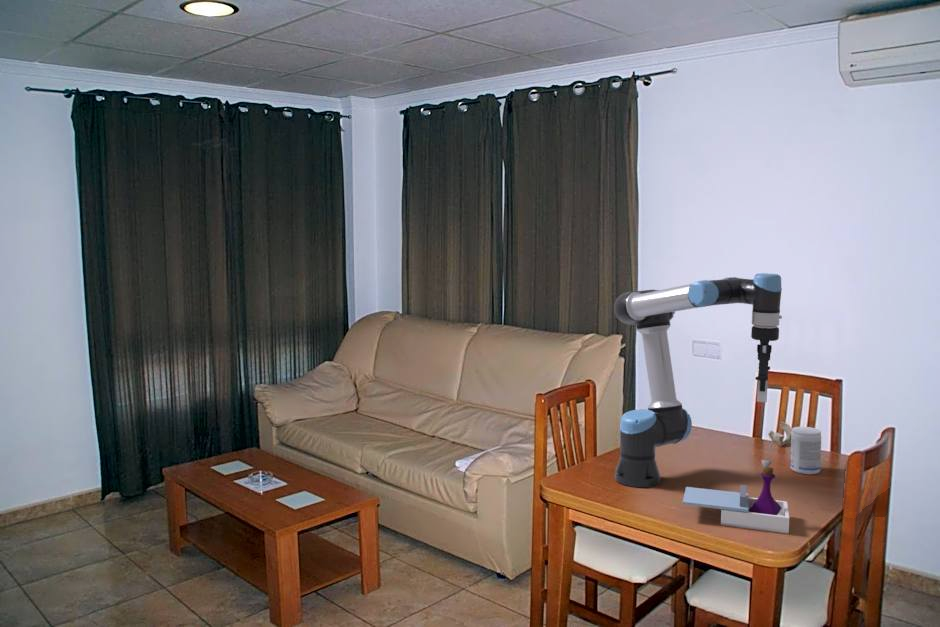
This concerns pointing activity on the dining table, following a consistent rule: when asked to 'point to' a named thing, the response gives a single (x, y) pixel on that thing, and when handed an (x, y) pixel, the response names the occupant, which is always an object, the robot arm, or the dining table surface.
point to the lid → (717, 498)
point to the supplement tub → (805, 450)
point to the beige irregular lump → (778, 437)
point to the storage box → (757, 518)
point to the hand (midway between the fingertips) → (761, 396)
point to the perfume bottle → (766, 494)
